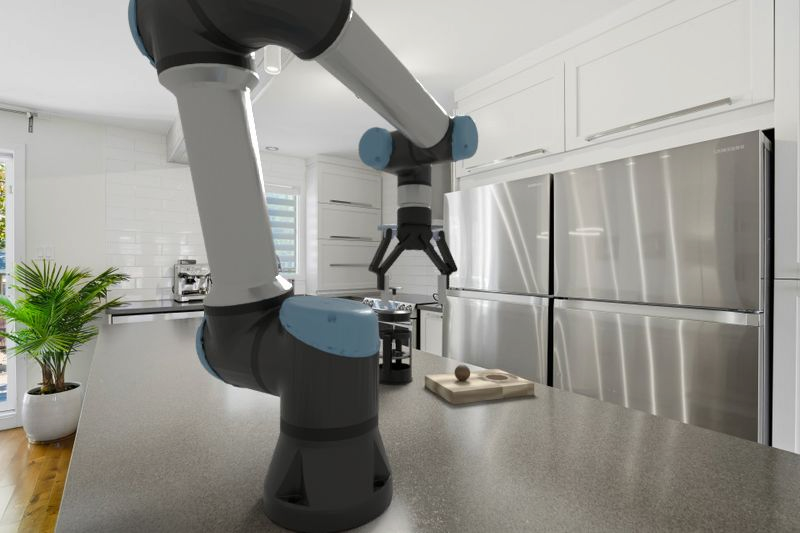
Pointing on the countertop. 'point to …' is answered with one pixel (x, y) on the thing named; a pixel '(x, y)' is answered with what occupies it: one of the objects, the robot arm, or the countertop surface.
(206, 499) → the countertop surface
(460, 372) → the ball
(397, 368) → the french press
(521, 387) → the cutting board
